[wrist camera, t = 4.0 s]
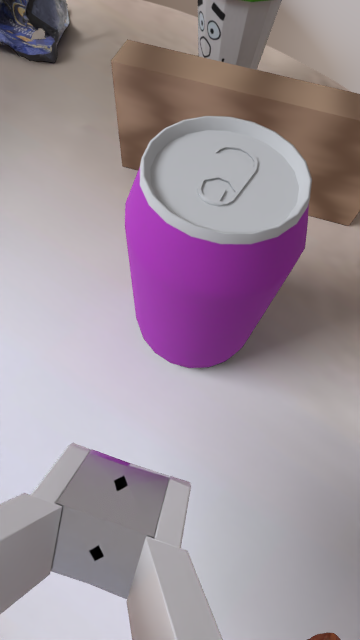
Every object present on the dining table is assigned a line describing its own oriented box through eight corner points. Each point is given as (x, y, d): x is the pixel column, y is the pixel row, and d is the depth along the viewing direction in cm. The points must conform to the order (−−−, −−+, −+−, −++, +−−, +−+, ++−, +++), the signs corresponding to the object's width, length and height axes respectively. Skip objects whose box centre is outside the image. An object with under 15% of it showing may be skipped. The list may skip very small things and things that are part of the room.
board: (122, 166, 29) (111, 60, 21) (134, 145, 30) (127, 39, 23) (348, 225, 27) (417, 134, 20) (350, 201, 28) (415, 107, 21)
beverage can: (225, 393, 20) (304, 292, 9) (116, 343, 21) (75, 201, 10) (262, 297, 24) (351, 141, 13) (166, 258, 24) (173, 83, 14)
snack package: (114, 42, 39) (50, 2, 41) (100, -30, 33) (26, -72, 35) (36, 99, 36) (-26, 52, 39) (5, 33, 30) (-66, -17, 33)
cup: (169, 93, 34) (177, -160, 21) (229, 75, 36) (271, -164, 23) (211, 136, 31) (252, -123, 18) (273, 114, 34) (351, -132, 20)
